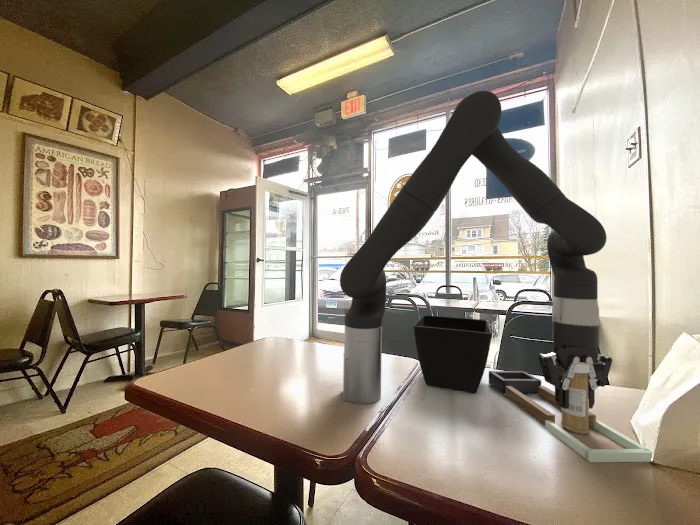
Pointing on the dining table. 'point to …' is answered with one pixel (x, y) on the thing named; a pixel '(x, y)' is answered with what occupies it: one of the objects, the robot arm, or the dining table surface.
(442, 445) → the dining table surface
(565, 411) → the sprinkles bottle
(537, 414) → the channel
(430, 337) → the flower pot
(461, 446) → the dining table surface
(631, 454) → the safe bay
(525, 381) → the bin
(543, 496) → the dining table surface
